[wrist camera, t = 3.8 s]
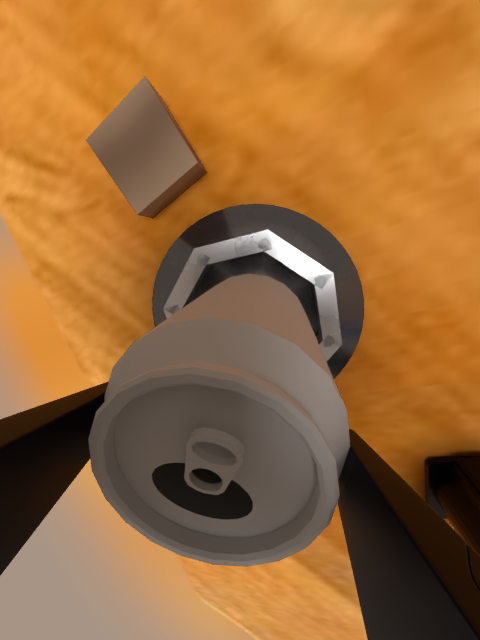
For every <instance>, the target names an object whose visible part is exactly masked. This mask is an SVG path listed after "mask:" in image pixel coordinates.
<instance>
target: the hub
mask: <svg viewBox="0 0 480 640" xmlns="http://www.w3.org/2000/svg"><path fill="white" fill-rule="evenodd" d="M243 274H257V275H264V276H269V277H271V278H273V279H275V280H277V281H279V282H281V283H283V284H285V285H286V286H287V287H288V288H289V289H290V290H291V291H292V292H293V293H294V294H295V295H296V296H297V297H298V299H299V301H300V303H301V305H302V307H303V309H304V311H305V313H306V315H307V317H308V320H309V322H310V325H311V327H312V329H313V332H314V334H315V336H316V339H317V341H318V343H319V346H320V348H321V350H322V353H323V355H324V358H325V360H326V362H327V365H328V367H329V369H330V372H331V374H332V376H333V379H334V378H335V377H336V376H337V375H338V374H339V373H340V372H341V370H342V369H343V368H344V367H345V365H346V364H347V362H348V361H349V359H350V358H351V356H352V354H353V352H354V350H355V348H356V346H357V343H358V341H359V337H360V334H361V330H362V325H363V318H364V298H363V292H362V285H361V282H360V279H359V276H358V273H357V270H356V268H355V266H354V264H353V262H352V260H351V258H350V256H349V255H348V253H347V252H346V250H345V249H344V248H343V246H342V245H341V244H340V243H339V241H338V240H337V239H336V238H335V237H334V236H333V235H332V234H331V233H330V232H329V231H327V230H326V229H325V228H324V227H322V226H321V225H320V224H319V223H317V222H315V221H314V220H312V219H310V218H308V217H307V216H305V215H303V214H300V213H298V212H295V211H293V210H290V209H286V208H282V207H278V206H274V205H262V204H250V205H239V206H234V207H230V208H225V209H223V210H220V211H217V212H214V213H212V214H210V215H208V216H206V217H204V218H202V219H201V220H199V221H197V222H196V223H195V224H193V225H192V226H191V227H189V228H188V229H187V230H186V231H185V232H184V233H183V234H182V235H181V236H180V237H179V238H178V239H177V240H176V241H175V242H174V244H173V245H172V246H171V247H170V249H169V250H168V252H167V254H166V255H165V257H164V259H163V261H162V263H161V265H160V268H159V270H158V273H157V276H156V280H155V284H154V290H153V299H152V303H153V317H154V324H155V327H156V326H158V325H159V324H160V323H162V322H163V321H165V320H166V319H168V318H169V317H171V316H172V315H173V314H175V313H176V312H178V311H179V310H181V309H182V308H184V307H185V306H187V305H188V304H189V303H191V302H192V301H194V300H195V299H197V298H198V297H200V296H201V295H203V294H204V293H205V292H207V291H208V290H210V289H211V288H213V287H214V286H216V285H217V284H219V283H221V282H223V281H225V280H226V279H228V278H230V277H233V276H238V275H243Z"/></svg>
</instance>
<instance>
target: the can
mask: <svg viewBox="0 0 480 640" xmlns="http://www.w3.org/2000/svg"><path fill="white" fill-rule="evenodd" d="M104 399H105V402H104V403H103V404H102V405H101V406H100V408H99V409H98V410H97V411H96V414H95V417H94V421H93V424H92V428H91V431H90V435H89V438H88V442H89V450H90V459H91V466H92V472H93V474H94V476H95V478H96V480H97V482H98V484H99V486H100V488H101V490H102V493H103V494H104V497H105V499H106V500H107V501H108V502H109V503H110V504H111V506H112V507H113V508H114V509H115V510H116V511H117V513H118V514H119V515H120V516H121V517H122V518H123V519H124V521H125V522H126V523H128V524H129V525H130V526H132V527H133V528H134V529H136V530H137V531H138V532H140V533H141V534H142V535H144V536H145V537H146V538H148V539H149V540H150V541H152V542H154V543H156V544H158V545H160V546H162V547H164V548H166V549H168V550H170V551H172V552H175V553H177V554H179V555H181V556H184V557H188V558H192V559H195V560H199V561H203V562H207V563H210V564H215V565H231V566H252V565H258V564H264V563H270V562H276V561H280V560H282V559H284V558H286V557H288V556H290V555H292V554H294V553H296V552H299V551H301V550H303V549H305V548H306V547H307V546H309V545H310V544H311V543H312V541H313V540H314V539H315V538H316V537H317V536H318V535H319V534H320V533H321V532H322V531H323V530H324V529H325V528H326V527H327V526H328V525H329V524H330V521H331V518H332V515H333V513H334V510H335V507H336V504H337V501H338V499H339V496H340V494H339V485H338V478H339V477H340V474H341V471H342V468H343V466H344V463H345V460H346V457H347V454H348V451H349V448H350V438H349V426H348V415H347V409H346V407H345V405H344V402H343V400H342V398H341V395H340V393H339V391H338V388H337V386H336V384H335V381H334V379H333V376H332V374H331V372H330V369H329V367H328V365H327V362H326V360H325V358H324V355H323V353H322V350H321V348H320V346H319V343H318V341H317V339H316V336H315V334H314V332H313V329H312V327H311V325H310V322H309V320H308V317H307V315H306V313H305V311H304V309H303V307H302V305H301V303H300V301H299V299H298V297H297V296H296V295H295V294H294V293H293V292H292V291H291V290H290V289H289V288H288V287H287V286H286V285H285V284H283V283H281V282H279V281H277V280H275V279H273V278H271V277H269V276H264V275H257V274H243V275H238V276H233V277H230V278H228V279H226V280H225V281H223V282H221V283H219V284H217V285H216V286H214V287H213V288H211V289H210V290H208V291H207V292H205V293H204V294H203V295H201V296H200V297H198V298H197V299H195V300H194V301H192V302H191V303H189V304H188V305H187V306H185V307H184V308H182V309H181V310H179V311H178V312H176V313H175V314H173V315H172V316H171V317H169V318H168V319H166V320H165V321H163V322H162V323H160V324H159V325H158V326H156V327H155V328H153V329H152V330H150V331H149V332H147V333H146V334H144V335H143V336H142V337H140V338H139V339H137V340H136V341H134V342H133V344H132V345H131V346H130V347H129V348H128V350H127V351H126V352H125V353H124V355H123V356H122V357H121V358H120V359H119V361H118V362H117V363H116V364H115V365H114V367H113V369H112V372H111V376H110V379H109V383H108V386H107V389H106V393H105V396H104Z"/></svg>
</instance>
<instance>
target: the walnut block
mask: <svg viewBox="0 0 480 640" xmlns="http://www.w3.org/2000/svg"><path fill="white" fill-rule="evenodd" d="M86 141H87V143H88V144H89V145H90V147H91V148H92V150H93V151H94V153H95V154H96V156H97V157H98V159H99V160H100V161H101V163H102V164H103V166H104V167H105V169H106V170H107V172H108V173H109V174H110V176H111V177H112V179H113V180H114V182H115V183H116V185H117V186H118V187H119V189H120V190H121V192H122V193H123V195H124V196H125V198H126V199H127V200H128V202H129V203H130V205H131V206H132V208H133V209H134V211H135V212H136V213H137V215H141V216H146V217H151V218H153V217H154V216H155V215H156V214H158V213H159V212H160V211H161V210H162V209H164V208H165V207H166V206H167V205H168V204H170V203H171V202H172V201H173V200H174V199H176V198H177V197H178V196H179V195H180V194H181V193H183V192H184V191H185V190H186V189H187V188H189V187H190V186H191V185H192V184H193V183H195V182H196V181H197V180H198V179H199V178H201V177H202V176H203V175H204V174H205V173H207V171H206V170H205V168H204V167H203V165H202V163H201V162H200V160H199V158H198V157H197V155H196V153H195V152H194V150H193V148H192V147H191V145H190V144H189V142H188V140H187V139H186V137H185V135H184V134H183V132H182V130H181V129H180V127H179V125H178V124H177V122H176V120H175V119H174V117H173V116H172V114H171V112H170V111H169V109H168V107H167V106H166V104H165V102H164V101H163V99H162V97H161V96H160V95H159V94H158V92H157V91H156V90H155V88H154V87H153V86H152V85H151V83H150V82H149V81H148V79H147V78H146V77H145V76H144V78H143V79H142V80H141V81H140V82H139V83H138V84H137V85H136V86H135V87H134V88H133V89H132V91H131V92H130V93H129V94H128V95H127V96H126V97H125V98H124V99H123V100H122V101H121V102H120V104H119V105H118V106H117V107H116V108H115V109H114V110H113V111H112V112H111V113H110V114H109V116H108V117H107V118H106V119H105V120H104V121H103V122H102V123H101V124H100V125H99V126H98V127H97V129H96V130H95V131H94V132H93V133H92V134H91V135H90V136H89V137H88V138H87V139H86Z"/></svg>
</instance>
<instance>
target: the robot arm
mask: <svg viewBox="0 0 480 640" xmlns="http://www.w3.org/2000/svg"><path fill="white" fill-rule="evenodd" d="M108 383H109V382H106V383H103V384H100V385H97V386H94V387H92V388H89V389H86V390H83V391H80V392H78V393H75V394H72V395H69V396H66V397H63V398H60V399H57V400H55V401H52V402H49V403H46V404H43V405H40V406H37V407H35V408H32V409H29V410H26V411H23V412H20V413H17V414H15V415H12V416H9V417H6V418H3V419H1V420H0V575H1V574H2V573H3V571H4V570H5V569H6V567H7V566H8V565H9V564H10V562H11V561H12V560H13V558H14V557H15V556H16V555H17V553H18V552H19V551H20V549H21V548H22V547H23V545H24V544H25V543H26V541H27V540H28V539H29V537H30V536H31V535H32V534H33V532H34V531H35V530H36V528H37V527H38V526H39V525H40V523H41V522H42V520H43V519H44V518H45V516H46V515H47V514H48V513H49V511H50V510H51V509H52V508H53V506H54V505H55V504H56V502H57V501H58V500H59V498H60V497H61V496H62V494H63V493H64V492H65V491H66V489H67V488H68V487H69V485H70V484H71V483H72V481H73V480H74V479H75V478H76V476H77V475H78V474H79V472H80V471H81V469H82V468H83V467H84V466H85V464H86V463H87V462H88V461H89V459H90V450H89V442H88V438H89V435H90V431H91V428H92V424H93V421H94V417H95V414H96V411H97V410H98V409H99V408H100V406H101V405H102V404H103V403H104V402H105V399H104V396H105V393H106V389H107V386H108ZM349 438H350V448H349V451H348V454H347V457H346V460H345V463H344V466H343V468H342V471H341V474H340V477H339V478H338V485H339V494H340V496H339V499H338V506H339V511H340V516H341V520H342V525H343V529H344V534H345V539H346V543H347V548H348V552H349V557H350V561H351V566H352V570H353V575H354V579H355V584H356V588H357V593H358V597H359V602H360V606H361V611H362V616H363V620H364V625H365V629H366V634H367V638H368V640H480V456H467V457H447V458H431V459H428V460H427V461H426V502H425V501H424V500H423V499H422V498H421V497H420V496H419V495H418V494H417V493H416V492H415V491H414V490H413V489H412V488H411V487H410V486H409V485H408V484H407V483H406V482H405V481H404V480H403V479H402V478H401V477H400V476H399V475H398V474H397V473H396V472H395V471H394V470H393V469H392V468H391V467H390V466H389V465H388V464H387V463H386V462H385V461H384V460H383V459H382V458H381V457H380V456H379V455H378V454H377V453H376V452H375V451H374V450H373V449H372V448H371V447H370V446H369V445H368V444H367V443H366V442H365V441H364V440H363V439H362V438H361V437H360V436H359V435H358V434H357V433H356V432H355V431H353V430H352V429H349ZM442 518H448V519H449V521H450V523H451V524H452V526H453V527H454V529H455V531H456V532H457V533H456V532H455V531H454V530H453V529H452V528H451V527H450V526H449V525H448V524H447V523H446V522H445V521H444V520H443V519H442Z"/></svg>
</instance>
